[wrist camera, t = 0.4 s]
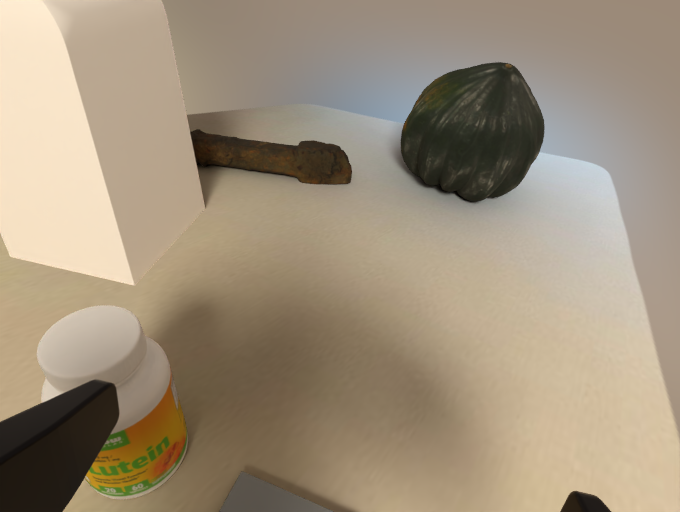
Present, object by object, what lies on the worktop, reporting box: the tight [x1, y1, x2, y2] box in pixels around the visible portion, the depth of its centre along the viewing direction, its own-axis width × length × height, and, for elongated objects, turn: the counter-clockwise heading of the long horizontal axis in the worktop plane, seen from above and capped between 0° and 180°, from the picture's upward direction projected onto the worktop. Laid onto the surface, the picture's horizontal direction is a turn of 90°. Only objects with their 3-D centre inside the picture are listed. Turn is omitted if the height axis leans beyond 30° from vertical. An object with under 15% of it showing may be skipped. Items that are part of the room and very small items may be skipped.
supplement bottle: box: [37, 305, 188, 499], centre depth 21 cm, size 5×5×10 cm
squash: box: [401, 62, 544, 202], centre depth 48 cm, size 14×15×15 cm
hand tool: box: [190, 129, 352, 184], centre depth 49 cm, size 19×4×5 cm, turn 77°
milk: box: [0, 0, 205, 285], centre depth 32 cm, size 12×12×26 cm
